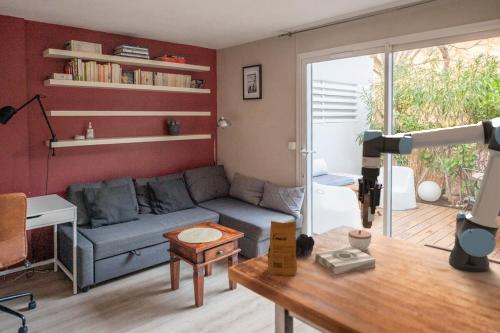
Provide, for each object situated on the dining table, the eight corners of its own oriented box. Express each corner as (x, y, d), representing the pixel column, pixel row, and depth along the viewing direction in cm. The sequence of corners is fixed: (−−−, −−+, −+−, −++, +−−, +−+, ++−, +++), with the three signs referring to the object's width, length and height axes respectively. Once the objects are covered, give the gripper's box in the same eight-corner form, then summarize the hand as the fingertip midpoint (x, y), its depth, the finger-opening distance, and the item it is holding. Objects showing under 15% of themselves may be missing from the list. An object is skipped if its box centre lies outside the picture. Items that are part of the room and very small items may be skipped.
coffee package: (268, 265, 163) (268, 217, 160) (297, 267, 161) (297, 218, 158) (266, 275, 153) (265, 224, 150) (296, 277, 151) (297, 225, 148)
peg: (373, 228, 162) (376, 194, 160) (366, 229, 161) (368, 195, 158) (368, 225, 166) (370, 192, 163) (360, 226, 164) (362, 193, 162)
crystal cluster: (279, 255, 177) (279, 235, 174) (294, 244, 187) (295, 226, 184) (303, 264, 169) (304, 244, 166) (318, 252, 179) (319, 233, 176)
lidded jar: (374, 252, 176) (374, 233, 175) (351, 252, 176) (351, 233, 175) (367, 244, 187) (367, 226, 185) (345, 244, 187) (346, 226, 186)
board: (375, 266, 161) (375, 258, 160) (335, 274, 154) (335, 266, 153) (352, 253, 175) (352, 246, 175) (315, 260, 168) (315, 252, 168)
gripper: (351, 163, 166) (348, 214, 169) (376, 170, 150) (372, 226, 153) (365, 163, 168) (362, 213, 172) (391, 169, 152) (387, 224, 156)
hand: (367, 219), depth 163 cm, fingers closed on peg, 4 cm apart
